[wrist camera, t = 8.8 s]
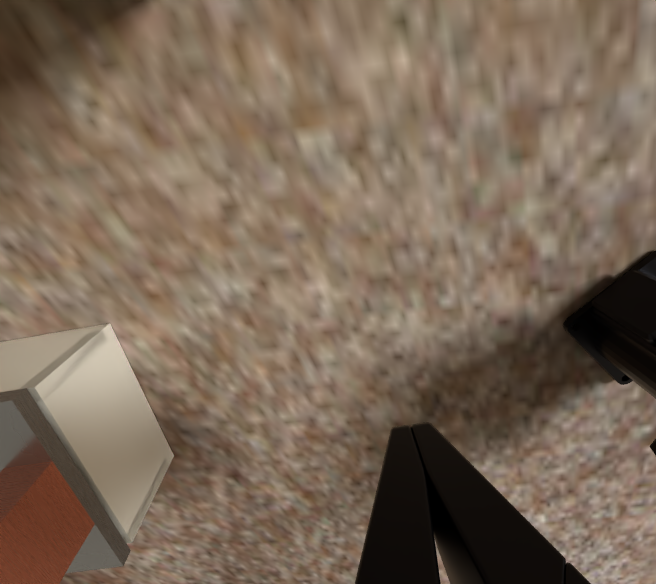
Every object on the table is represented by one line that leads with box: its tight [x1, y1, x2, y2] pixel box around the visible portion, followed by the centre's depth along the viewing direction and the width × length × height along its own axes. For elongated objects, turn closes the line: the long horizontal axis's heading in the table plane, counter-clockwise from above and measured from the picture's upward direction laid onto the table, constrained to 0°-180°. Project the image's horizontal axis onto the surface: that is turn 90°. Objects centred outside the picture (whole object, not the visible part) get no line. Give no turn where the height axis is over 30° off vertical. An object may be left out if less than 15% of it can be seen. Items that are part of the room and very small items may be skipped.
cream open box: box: [0, 323, 174, 543], centre depth 21 cm, size 12×11×6 cm
